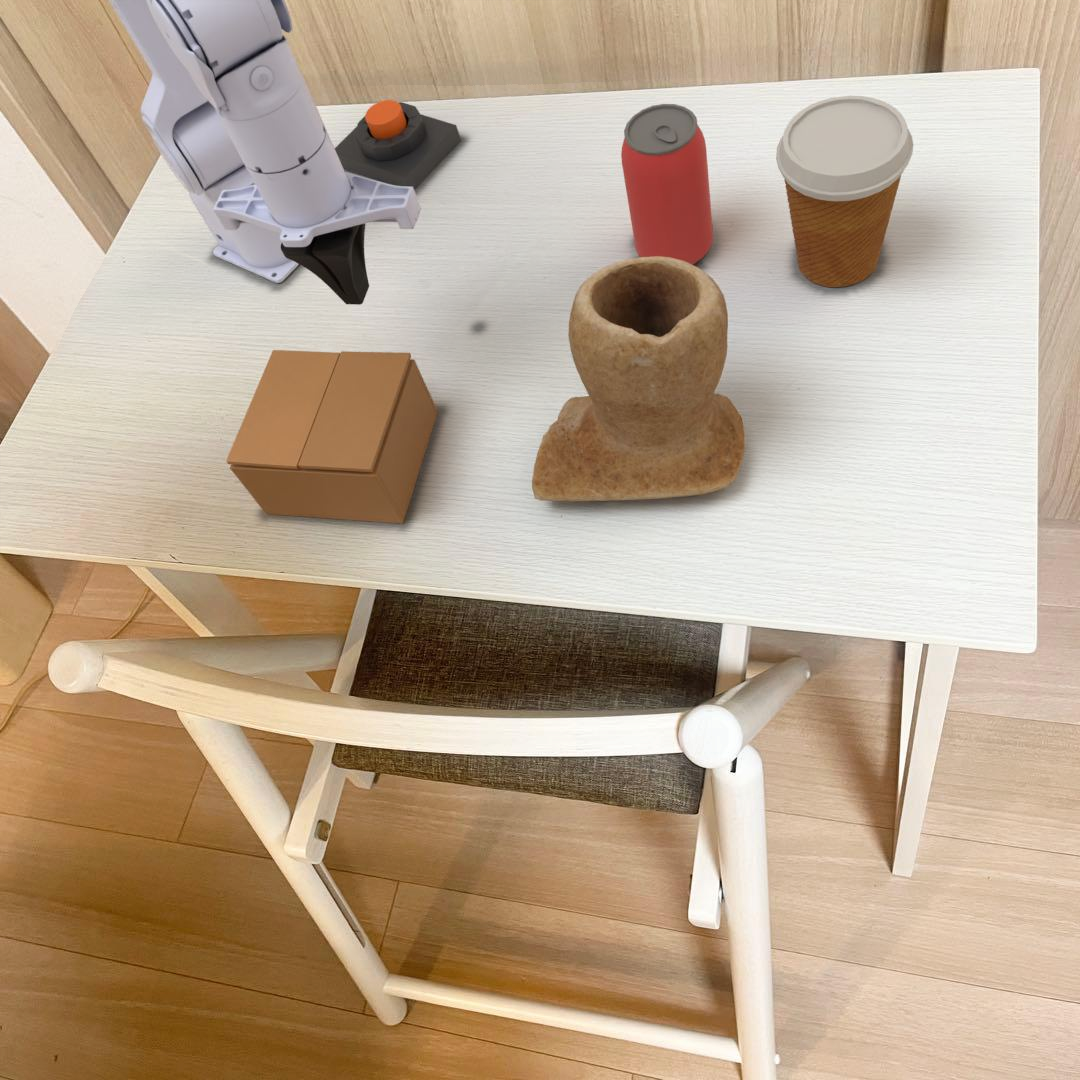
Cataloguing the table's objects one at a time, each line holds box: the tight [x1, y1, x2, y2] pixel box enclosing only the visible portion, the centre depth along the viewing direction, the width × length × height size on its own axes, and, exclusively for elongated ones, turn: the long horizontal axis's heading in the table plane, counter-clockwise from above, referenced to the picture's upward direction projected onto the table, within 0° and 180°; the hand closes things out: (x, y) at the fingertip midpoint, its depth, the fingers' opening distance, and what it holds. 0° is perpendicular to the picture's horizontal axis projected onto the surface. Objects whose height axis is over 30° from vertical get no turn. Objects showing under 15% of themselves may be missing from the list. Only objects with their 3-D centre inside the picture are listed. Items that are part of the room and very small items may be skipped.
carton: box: [229, 350, 439, 525], centre depth 80 cm, size 12×11×7 cm
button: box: [364, 99, 407, 139], centre depth 99 cm, size 4×4×2 cm
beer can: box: [620, 103, 714, 265], centre depth 83 cm, size 7×7×12 cm
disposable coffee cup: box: [775, 95, 914, 288], centre depth 78 cm, size 10×10×12 cm
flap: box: [225, 349, 341, 469], centre depth 78 cm, size 6×11×1 cm, turn 168°
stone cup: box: [531, 256, 746, 502], centre depth 71 cm, size 15×12×15 cm
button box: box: [334, 101, 462, 191], centre depth 101 cm, size 10×8×4 cm
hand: (357, 294), depth 77 cm, fingers closed
